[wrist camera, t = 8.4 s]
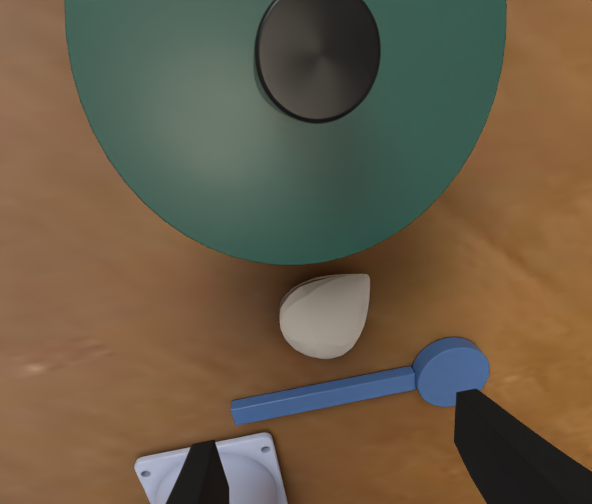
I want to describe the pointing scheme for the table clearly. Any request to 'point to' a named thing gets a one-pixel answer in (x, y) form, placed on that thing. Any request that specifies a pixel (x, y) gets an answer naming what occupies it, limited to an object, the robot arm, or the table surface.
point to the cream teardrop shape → (325, 314)
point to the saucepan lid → (287, 112)
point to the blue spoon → (381, 384)
